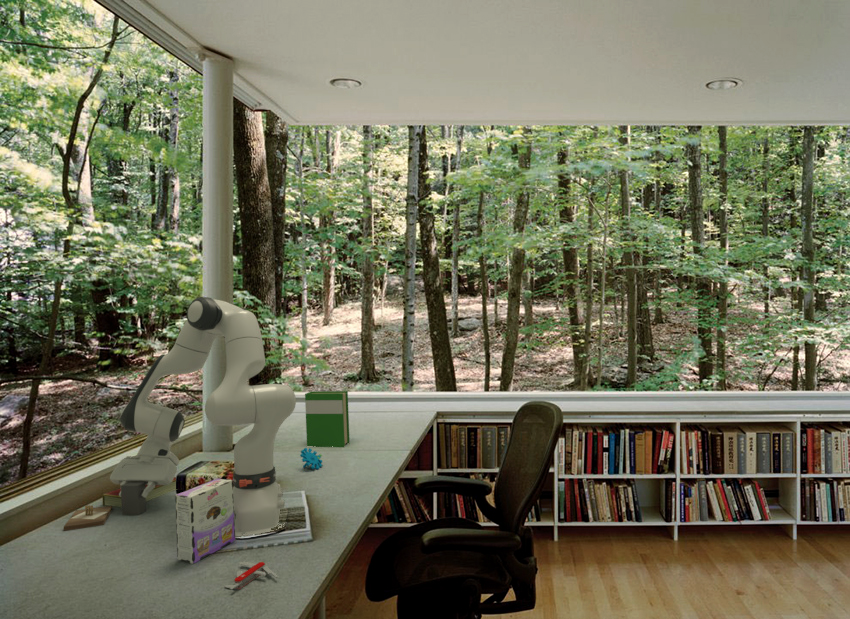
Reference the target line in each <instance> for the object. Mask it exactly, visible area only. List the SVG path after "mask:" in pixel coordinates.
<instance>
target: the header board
mask: <svg viewBox="0 0 850 619" xmlns="http://www.w3.org/2000/svg"><path fill="white" fill-rule="evenodd" d="M84 506H85V507H84V509H78V510H75V511H73V512H74V513H72V515H71V517H70V518H68V520H67V521H66V523H65V525H64V526H63V531H64V532H66V531H71V530H78V529H83V528H92V527H96V526H97V527H98V526H104V525H105V523H106V522H107V520H108V518H109V516H110V515H111V513H112V512H113V507H114V506H113V505H111V506H110V505H103V506H97V507H94V505H84Z"/></svg>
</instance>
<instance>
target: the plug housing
mask: <svg viewBox="0 0 850 619" xmlns="http://www.w3.org/2000/svg"><path fill="white" fill-rule="evenodd" d="M120 488H121V503H122V507H121V515H122V516H123V515H124V516H140V515H141V514H143V513H144V512H146V511H147V501H146V498H141V497H140V496H139V494H140V493H141V490H144V489H145V482H128V483H125V484H123V485H120Z"/></svg>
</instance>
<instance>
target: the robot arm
mask: <svg viewBox="0 0 850 619" xmlns="http://www.w3.org/2000/svg"><path fill="white" fill-rule="evenodd" d="M219 337H222V338H224V347H225V357H226V371H225V374H224V378H223V380H222V381H221V382H220V384H219V386H217V387H216V389H214V390H213V391H212V392H211V393H210V394H209V395H208V397H207V399H206V401H205V404H204V412H205V417H206V418H207V420H208V421H209V423H211V424H212V425H213V426H224V427H233V426H241V425H248V424H249V425H250V424H253V427H252V428H251V430H250V431H249V432H248V433H247V434H245V435H244V436H242V437H241V438H239V440H237V441H236V443H235V444H234V447H233V461H234V464H233V465H234V471H233V473H232V481H233V502H234V523H235V537H241V536H248V535H253V534H261V533H265V532H270V531H274V530H271V528H274V527H276V526H277V525H278V524H279V523H278V522H279V514H280V508H285V500H284V499H282V498H283V496H284V493H283V492H282V491H281V488H282V487H281V484H279V483H278V482H277V481H276V480H277V478H276V477H277V476H276V474H277V473H276V472H277V470H276V466H274V451H275V450H274V449H275V448H274V447H275V446H274V445H275V439H276V435H277V433H278V431H279V429H280V427H281V426H282V424H283V423H284V422H285V421H286V419H288V418H289V417H290V416H291V415H292V414H293V412H294V410H295V409H296V403H297V400H296V399H297V398H296V395H295V391H294V390H293V388H292V387H291V386H290V385H288V384H281V383H267V384H266V383H265V384H256V385H254V384H253V385H249V384H248V380H250V379H251V378H254V377H255V376H257V375H258V374H259V373H260V372H262V371H263V369H264V368H265V365H266V357H265V349H264V342H263V337H262V331H261V328H260V325H259V322H258V319H257V316H256V315H255V313H253V312H252V311H250V310H247V309H246V308H243V307H242V306H241V307H240V306H238V305H235V304H232V303H229V302H228V301H225V300H221V299H220V300H219V299H215V298H212V297H210V296H209V297H208V296H199V297H197V298H194V299H193V300H192V301H191V303H190V304H189V305H188V307H187V310H186V321H185V322H184V324H183V325H182V328H181V330H180V331H179V333H178V336H177V338H176V340H175V343H174V345H173V347H172V348H171V349H170V350H169V352H167V353H166V354H161V355H159V356H158V357H157V358H156V360H155V361H154V363H152V365H151V366H150V367H149V370H147V372H146V374H145V376H144V378H143V379H142V381H141V382H140V383H139V386H138V388H137V389H136V391H135V392H134V394H133V395H132V398H131V399H130V400H129V402H128V403H127V404H126V405H125V406H124V408H123V409H122V411H121V414H120V418H119V421H120V424H121V426H122V427H123V428H124V429H125V431H130V432H134V433H141V434H145V435H147V436H146V439H145V440H144V441H143V442H142V444H141V446H140V447H139V450H138V452H137V454H136V455H133V456H131V455H130V456H129V455H128V456H127V455H126V456H125V457H124V458H121V460H120V461H119V462H118V463H117V465H116V466H115V467H114V469H113V471H112V472H111V474H110V476H109V480H110V482H112V483H113V484H115V485H116V486H117V485H120V486H121V485H123V484H125V483H128V482H145V485H148V486H147V487H146V488H145V489H144V490H141V493H140V494H139V496H140V497H141V498H146V497H147V495H148V493H149V492H150V491H151V490H153V489H154V487H155V485H169V484H170V483H171V482H172V481H173V479H174V477H176V473H177V471H178V466H179V464H180V462H181V461H180V460H179V458H178V456H177V455H175V454H174V452H172V451H171V448H172V446H173V444H174V443H175V442H176V441H177V440H178V439H179V437H180V435H181V433H182V431H183V428H184V426H185V422H186V420H185V418H184V416H183V413H182V412H181V411H179V410H176V409H173V408H171V407H167V406H163V405H159V404H156V403H152V402H150V401H148V399H149V397H150V395H151V394H152V392H153V390H154V389H155V386H156V385H157V384H158V382H159V380H161V379H162V378H163V377H166V376H172V375H173V376H175V375H187V374H192V373H195V372H197V371H199V370H201V369H202V368H203V367H204V365H205V364H206V362H207V360H208V357H209V355H210V352H211V350H212V347H213V344H214V342H215V340H216V339H217V338H219ZM119 496H120V497H121V491H120V493H119ZM284 524H285V523H284ZM284 524H283V525H284ZM279 525H281V526H279ZM279 525H278V526H279V527H278V529H279V528H282V524H279ZM283 527H284V526H283ZM276 530H277V529H276ZM243 534H245V535H243Z"/></svg>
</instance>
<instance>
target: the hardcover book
mask: <svg viewBox="0 0 850 619" xmlns="http://www.w3.org/2000/svg"><path fill="white" fill-rule="evenodd" d="M176 477H177V476H174V479H173V481H172V482H171V483H170V484H169V485H155V487H154V489H153V490H151V491H150V492H149V493H148V495H147V497H146V502H147V501H148V502H149V501H151V500H153V499H157V498H158V497H160V496H161V497H162V496H163V495H166V494H169V493H171V492H174V491H176V490H177V489H176ZM147 486H148V485H145V488H146V487H147ZM120 491H121V487H120V488H117V489H114V490H113V491H109V492H106V493H103V494H102V500H101V501H102V506H111V505H113V507H118V508H119V507H120V508H122V503H121V497H120V496H119V493H120Z"/></svg>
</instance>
